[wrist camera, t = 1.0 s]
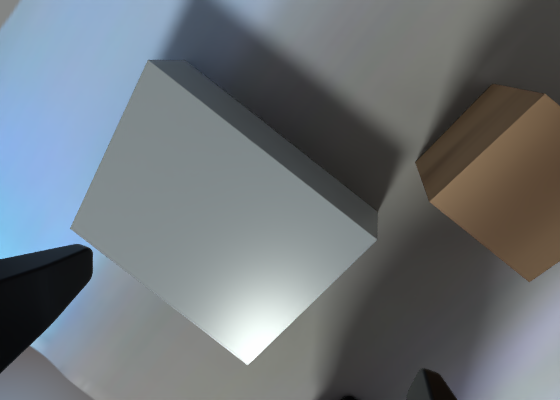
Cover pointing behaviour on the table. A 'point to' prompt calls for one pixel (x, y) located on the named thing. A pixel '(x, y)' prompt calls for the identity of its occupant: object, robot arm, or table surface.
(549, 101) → the walnut block
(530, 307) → the table surface
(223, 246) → the slate box
